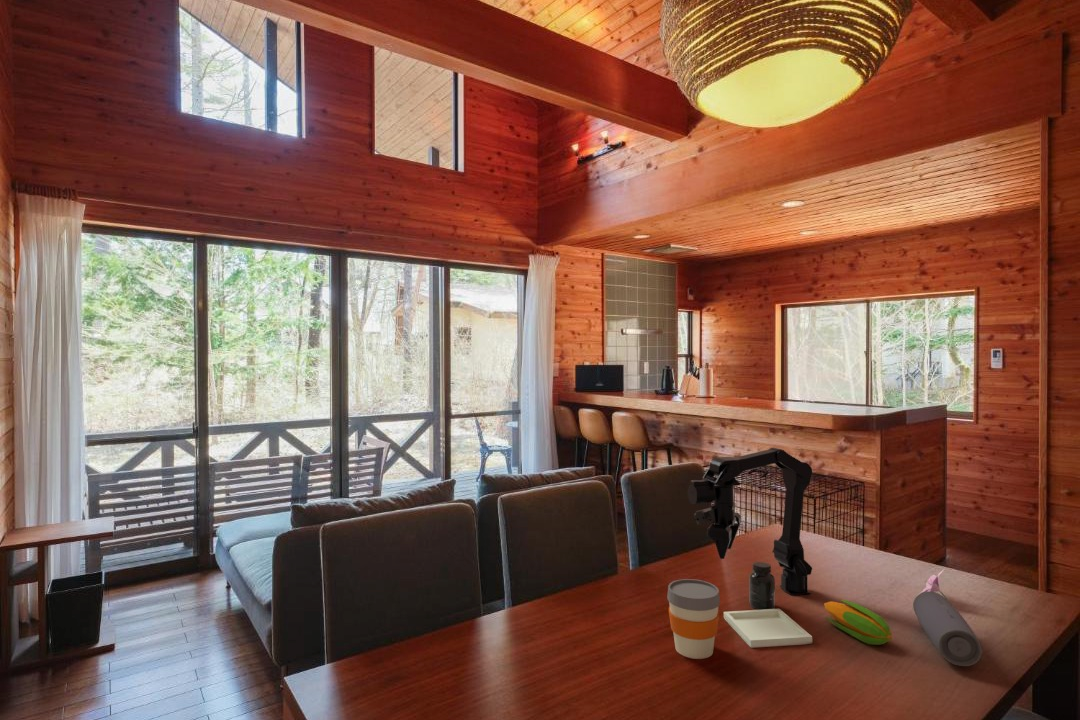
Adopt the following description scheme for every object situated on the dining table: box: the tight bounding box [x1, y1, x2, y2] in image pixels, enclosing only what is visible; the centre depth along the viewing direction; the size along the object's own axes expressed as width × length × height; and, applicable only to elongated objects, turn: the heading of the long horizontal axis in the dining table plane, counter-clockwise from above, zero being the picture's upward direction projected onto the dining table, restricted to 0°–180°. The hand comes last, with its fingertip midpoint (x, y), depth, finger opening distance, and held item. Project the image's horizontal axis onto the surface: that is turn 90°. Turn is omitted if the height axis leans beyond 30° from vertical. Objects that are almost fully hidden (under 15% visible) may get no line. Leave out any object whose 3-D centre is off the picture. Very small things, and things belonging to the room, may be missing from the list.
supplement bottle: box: [748, 561, 776, 610], centre depth 165 cm, size 7×7×12 cm
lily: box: [917, 569, 948, 600], centre depth 167 cm, size 12×12×10 cm
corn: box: [823, 599, 893, 646], centre depth 149 cm, size 7×8×20 cm
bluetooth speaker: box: [912, 591, 983, 667], centre depth 140 cm, size 23×9×10 cm, turn 160°
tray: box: [723, 608, 813, 649], centre depth 151 cm, size 16×16×2 cm
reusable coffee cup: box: [666, 578, 721, 660], centre depth 141 cm, size 13×13×15 cm
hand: (725, 553), depth 170 cm, fingers open, 9 cm apart
